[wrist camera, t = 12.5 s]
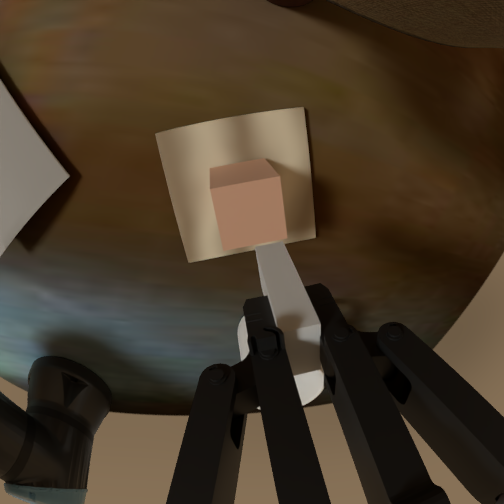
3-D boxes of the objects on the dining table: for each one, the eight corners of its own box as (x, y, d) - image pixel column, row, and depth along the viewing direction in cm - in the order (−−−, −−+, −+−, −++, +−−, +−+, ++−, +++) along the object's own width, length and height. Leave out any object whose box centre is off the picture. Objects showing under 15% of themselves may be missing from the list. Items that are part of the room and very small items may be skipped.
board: (189, 260, 33) (188, 262, 33) (156, 133, 27) (155, 133, 26) (314, 235, 34) (315, 237, 34) (301, 107, 27) (303, 107, 27)
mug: (334, 310, 40) (364, 369, 31) (263, 357, 42) (277, 419, 33) (300, 270, 36) (330, 332, 27) (222, 325, 39) (229, 393, 29)
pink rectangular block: (220, 218, 31) (223, 250, 25) (209, 168, 28) (209, 189, 22) (271, 208, 31) (287, 238, 25) (264, 158, 28) (279, 176, 22)
